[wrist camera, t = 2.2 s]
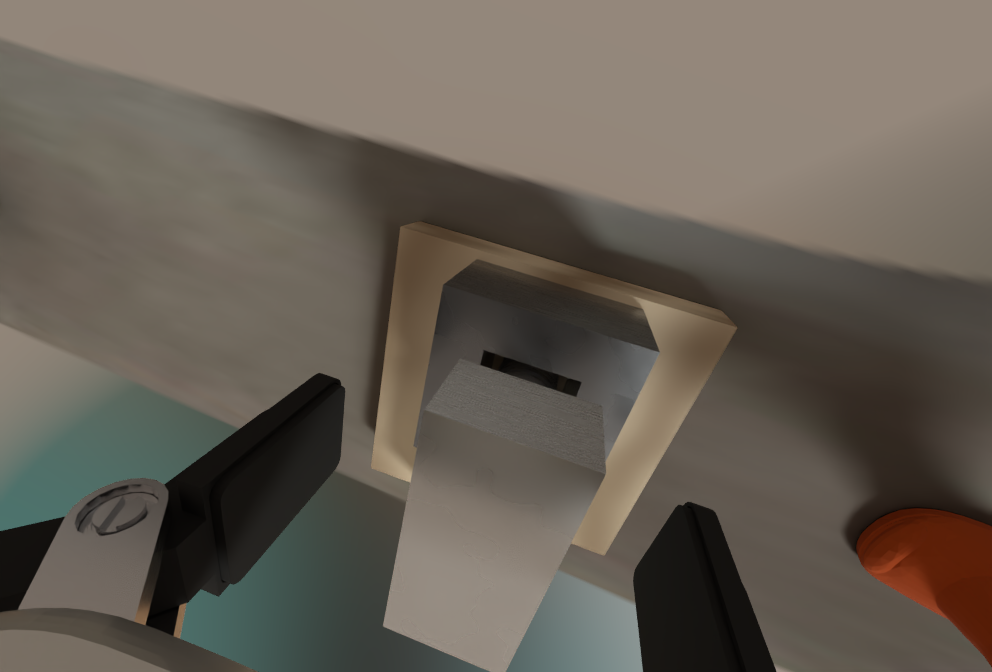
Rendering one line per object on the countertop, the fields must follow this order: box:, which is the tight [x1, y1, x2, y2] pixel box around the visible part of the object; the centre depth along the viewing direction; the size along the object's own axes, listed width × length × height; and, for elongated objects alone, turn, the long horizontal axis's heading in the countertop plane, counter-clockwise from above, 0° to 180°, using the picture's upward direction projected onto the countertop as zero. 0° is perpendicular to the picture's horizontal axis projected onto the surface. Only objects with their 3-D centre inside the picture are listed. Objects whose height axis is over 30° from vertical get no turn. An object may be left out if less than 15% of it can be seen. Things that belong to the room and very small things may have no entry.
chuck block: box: [413, 259, 660, 462], centre depth 15 cm, size 7×7×4 cm
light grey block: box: [383, 357, 606, 672], centre depth 12 cm, size 7×3×10 cm, turn 166°
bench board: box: [371, 221, 738, 555], centre depth 19 cm, size 14×14×2 cm
